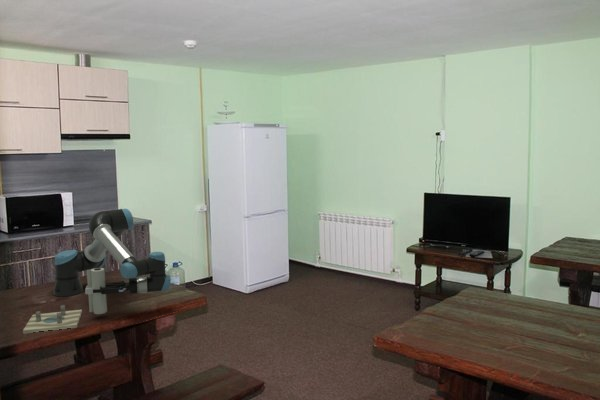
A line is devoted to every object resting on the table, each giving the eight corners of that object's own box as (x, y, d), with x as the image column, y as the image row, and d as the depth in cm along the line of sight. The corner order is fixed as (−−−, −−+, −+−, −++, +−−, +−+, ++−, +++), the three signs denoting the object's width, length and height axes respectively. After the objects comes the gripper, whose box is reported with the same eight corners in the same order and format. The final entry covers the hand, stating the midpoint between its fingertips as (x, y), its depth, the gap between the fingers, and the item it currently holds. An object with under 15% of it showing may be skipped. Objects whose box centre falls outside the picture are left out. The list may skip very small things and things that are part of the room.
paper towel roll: (109, 311, 245) (107, 268, 242) (98, 315, 240) (95, 271, 237) (100, 309, 248) (97, 266, 246) (89, 312, 243) (86, 269, 241)
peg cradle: (33, 317, 245) (32, 305, 244) (82, 312, 252) (81, 300, 251) (23, 333, 224) (21, 320, 224) (76, 327, 231) (76, 315, 230)
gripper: (137, 298, 240) (84, 303, 233) (138, 288, 256) (87, 292, 249) (137, 282, 239) (83, 287, 232) (137, 273, 255) (87, 278, 248)
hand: (85, 290), depth 241 cm, fingers closed on paper towel roll, 3 cm apart
